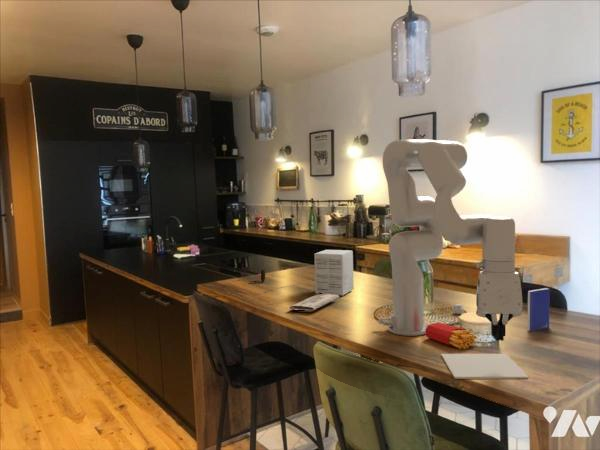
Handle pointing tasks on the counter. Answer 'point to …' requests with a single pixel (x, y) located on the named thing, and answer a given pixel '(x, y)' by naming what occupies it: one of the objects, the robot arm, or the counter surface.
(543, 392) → the counter surface
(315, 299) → the newspaper
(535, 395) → the counter surface
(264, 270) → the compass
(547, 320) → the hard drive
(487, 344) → the counter surface
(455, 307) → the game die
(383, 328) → the counter surface
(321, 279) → the supplement box
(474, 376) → the mat
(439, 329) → the french fries
